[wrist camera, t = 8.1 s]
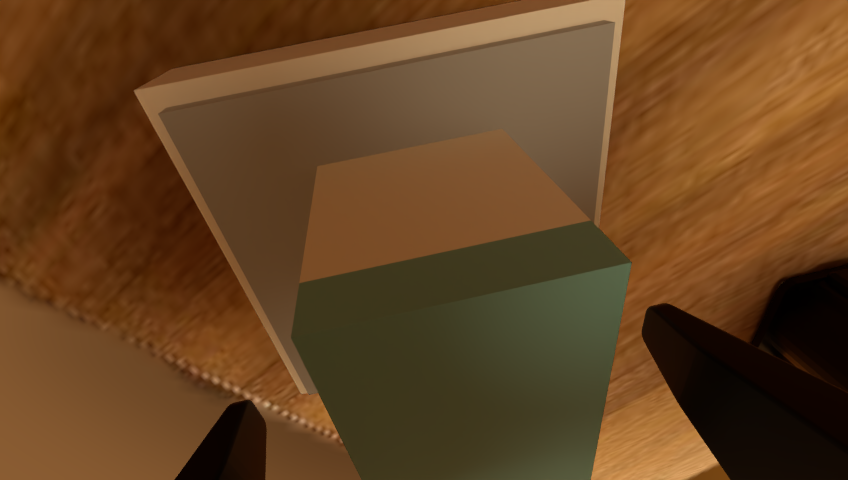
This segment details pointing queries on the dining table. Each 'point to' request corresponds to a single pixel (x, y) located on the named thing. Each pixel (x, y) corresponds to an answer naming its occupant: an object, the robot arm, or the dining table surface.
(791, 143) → the dining table surface
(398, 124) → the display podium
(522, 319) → the cream carton
